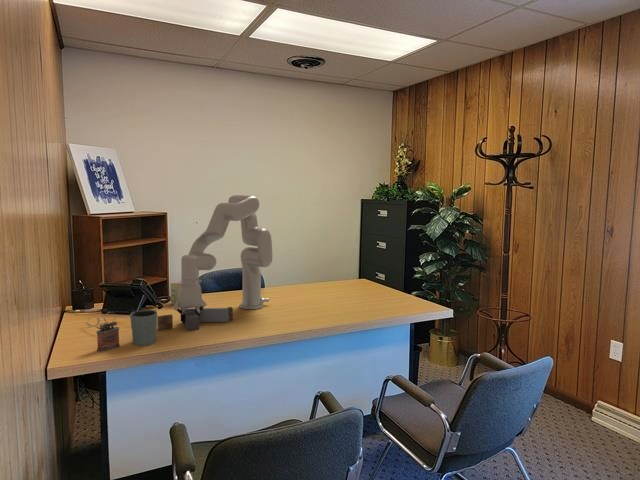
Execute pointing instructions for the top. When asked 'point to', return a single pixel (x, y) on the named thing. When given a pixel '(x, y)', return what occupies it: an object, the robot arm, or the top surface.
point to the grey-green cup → (144, 327)
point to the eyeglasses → (104, 320)
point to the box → (174, 291)
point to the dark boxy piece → (191, 320)
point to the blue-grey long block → (212, 314)
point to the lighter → (108, 337)
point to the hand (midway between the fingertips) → (190, 321)
